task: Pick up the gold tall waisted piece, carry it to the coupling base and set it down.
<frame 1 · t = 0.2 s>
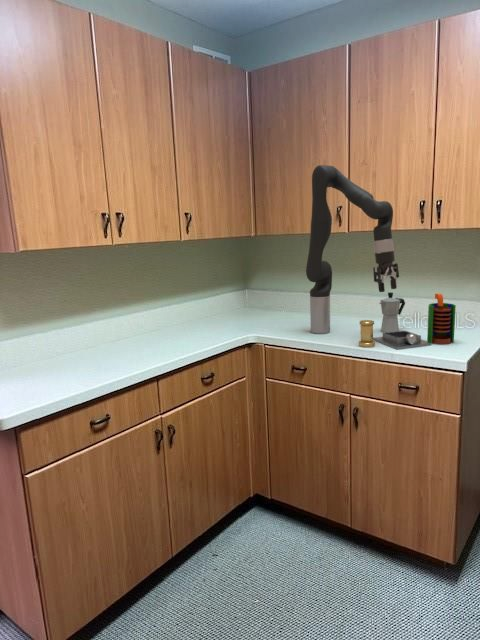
hand: (388, 290, 200), 22 cm above the worktop, tool pointing down, fingers open, 8 cm apart
gold tall waisted piece: (366, 345, 201), on the worktop
coffee maker: (391, 331, 225), on the worktop
motor: (439, 342, 201), on the worktop
coupling base: (401, 342, 203), on the worktop
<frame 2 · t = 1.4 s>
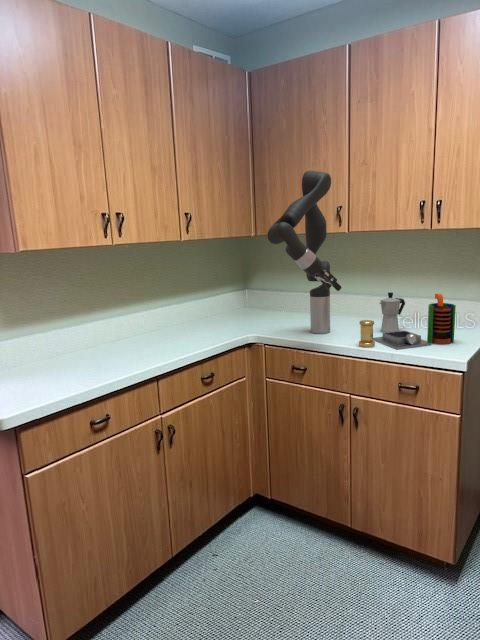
hand: (334, 288, 197), 24 cm above the worktop, tool tilted 45°, fingers open, 8 cm apart
nothing on the worktop moved.
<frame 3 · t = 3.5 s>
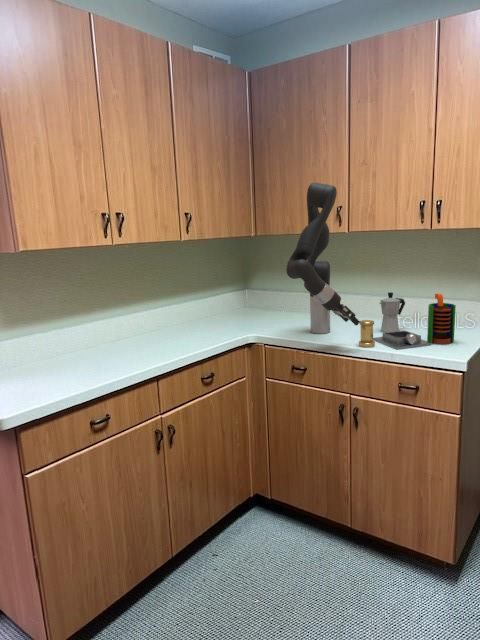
hand: (352, 321, 197), 11 cm above the worktop, tool tilted 45°, fingers open, 8 cm apart
nothing on the worktop moved.
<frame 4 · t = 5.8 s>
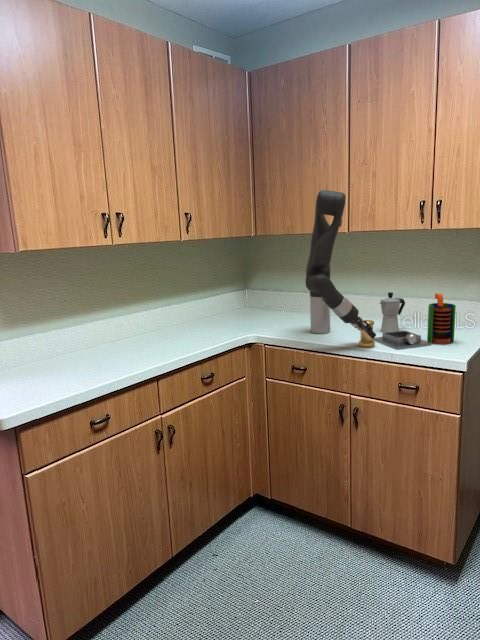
hand: (370, 335, 201), 4 cm above the worktop, tool tilted 45°, fingers closed on gold tall waisted piece, 5 cm apart
gold tall waisted piece: (366, 345, 201), on the worktop, touching gripper
everything else where it was.
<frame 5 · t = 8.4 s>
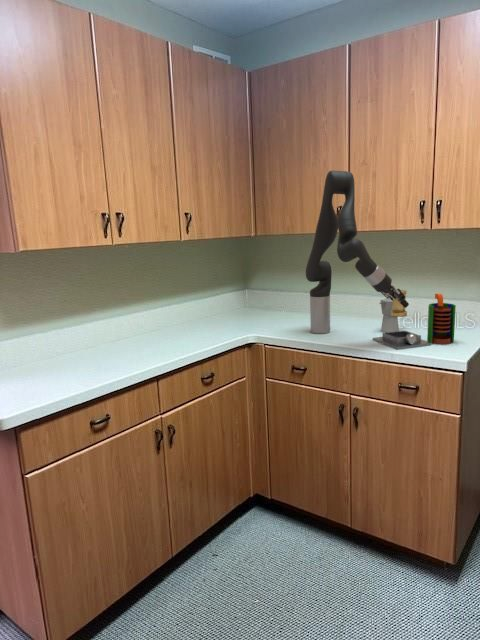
hand: (403, 304, 200), 16 cm above the worktop, tool tilted 45°, fingers closed on gold tall waisted piece, 5 cm apart
gold tall waisted piece: (398, 315, 200), point 12 cm above the worktop, touching gripper
everything else where it was.
when the fingers open (6 cm above the worktop, at t = 10.8 s): gold tall waisted piece drops 1 cm, resting on coupling base.
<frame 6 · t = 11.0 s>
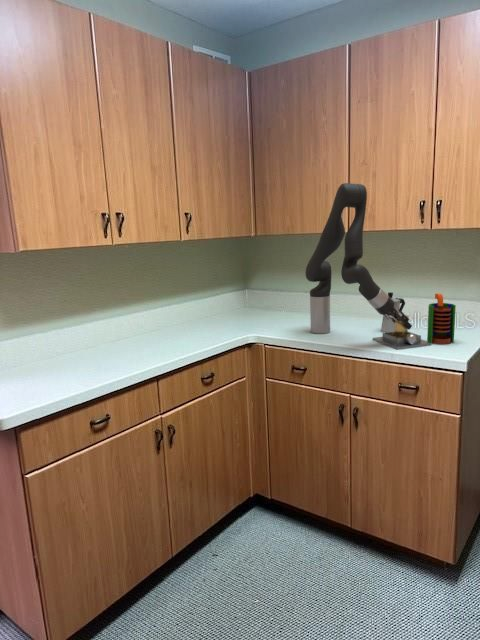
hand: (404, 326, 202), 7 cm above the worktop, tool tilted 45°, fingers open, 6 cm apart
gold tall waisted piece: (400, 340, 203), point 1 cm above the worktop, touching coupling base
everything else where it was.
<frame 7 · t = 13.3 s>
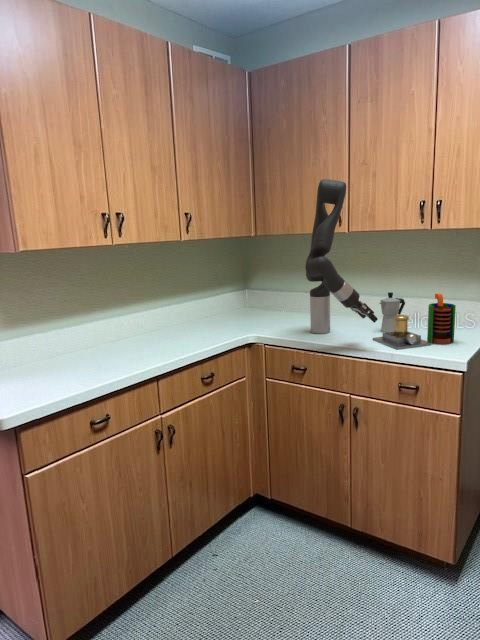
hand: (370, 318, 199), 11 cm above the worktop, tool tilted 45°, fingers open, 8 cm apart
nothing on the worktop moved.
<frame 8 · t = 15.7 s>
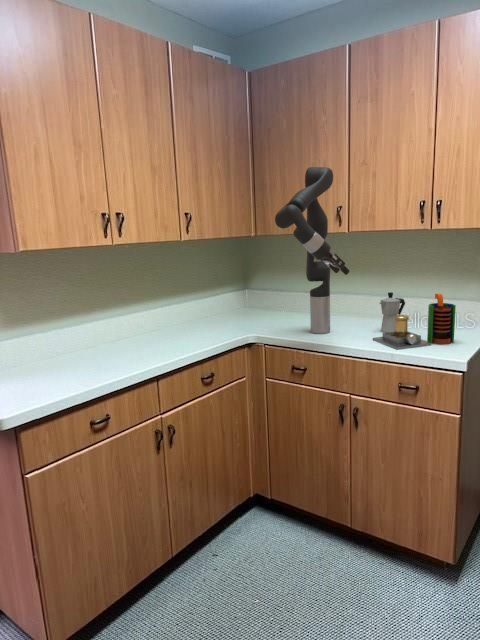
hand: (342, 272, 197), 31 cm above the worktop, tool tilted 45°, fingers open, 8 cm apart
nothing on the worktop moved.
at the end: gold tall waisted piece inside the target area on the coupling base (0.2 cm from its centre), point 1.0 cm above the coupling base's base; gold tall waisted piece tilted 0°; the gripper is holding nothing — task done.
